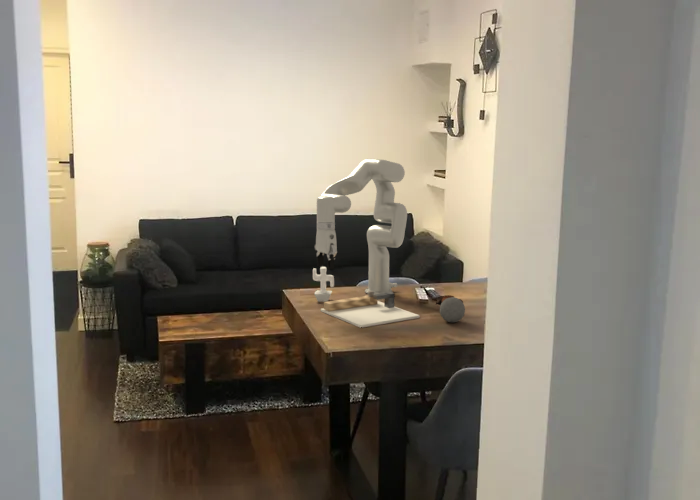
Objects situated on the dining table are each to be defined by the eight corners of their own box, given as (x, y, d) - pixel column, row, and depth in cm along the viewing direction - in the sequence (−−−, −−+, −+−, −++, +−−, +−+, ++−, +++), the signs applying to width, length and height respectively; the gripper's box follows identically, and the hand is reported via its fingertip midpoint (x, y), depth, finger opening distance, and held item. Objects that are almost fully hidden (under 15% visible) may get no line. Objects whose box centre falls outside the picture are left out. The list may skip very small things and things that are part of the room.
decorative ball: (447, 317, 309) (448, 293, 307) (469, 321, 303) (470, 297, 301) (434, 322, 301) (435, 297, 300) (456, 326, 295) (456, 301, 293)
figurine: (332, 302, 332) (333, 269, 330) (311, 301, 333) (311, 268, 331) (334, 298, 339) (334, 265, 337) (313, 298, 340) (313, 265, 338)
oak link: (372, 301, 330) (372, 289, 329) (380, 303, 325) (380, 292, 324) (322, 308, 316) (323, 296, 315) (329, 311, 312) (330, 299, 311)
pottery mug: (433, 315, 314) (432, 296, 317) (440, 320, 322) (439, 301, 325) (461, 310, 310) (459, 291, 313) (468, 316, 318) (466, 297, 321)
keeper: (390, 305, 324) (390, 291, 323) (394, 307, 321) (394, 293, 320) (373, 308, 319) (373, 294, 318) (377, 309, 316) (377, 295, 315)
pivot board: (377, 302, 333) (377, 300, 333) (419, 317, 308) (419, 315, 308) (320, 311, 317) (320, 308, 317) (360, 327, 292) (360, 325, 292)
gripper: (344, 227, 311) (344, 270, 314) (322, 222, 325) (322, 263, 328) (328, 229, 307) (328, 271, 310) (307, 224, 321) (307, 264, 324)
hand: (325, 267), depth 319 cm, fingers open, 7 cm apart
